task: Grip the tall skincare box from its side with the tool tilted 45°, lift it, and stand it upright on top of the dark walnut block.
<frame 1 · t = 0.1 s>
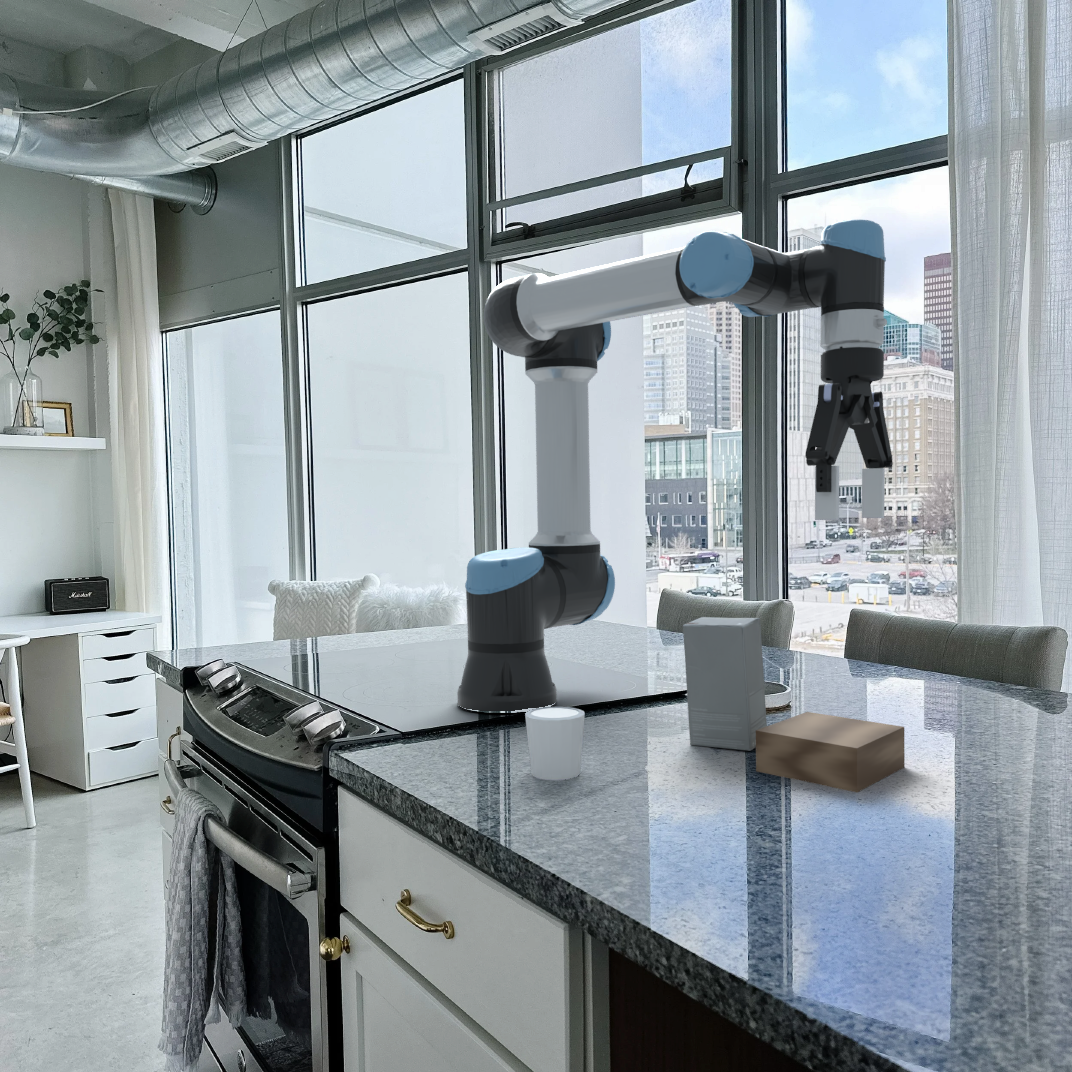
hand: (850, 519, 120), 28 cm above the worktop, tool pointing down, fingers open, 13 cm apart
walnut block: (830, 772, 108), on the worktop
skincare box: (725, 745, 120), on the worktop
white tapered cup: (556, 774, 109), on the worktop
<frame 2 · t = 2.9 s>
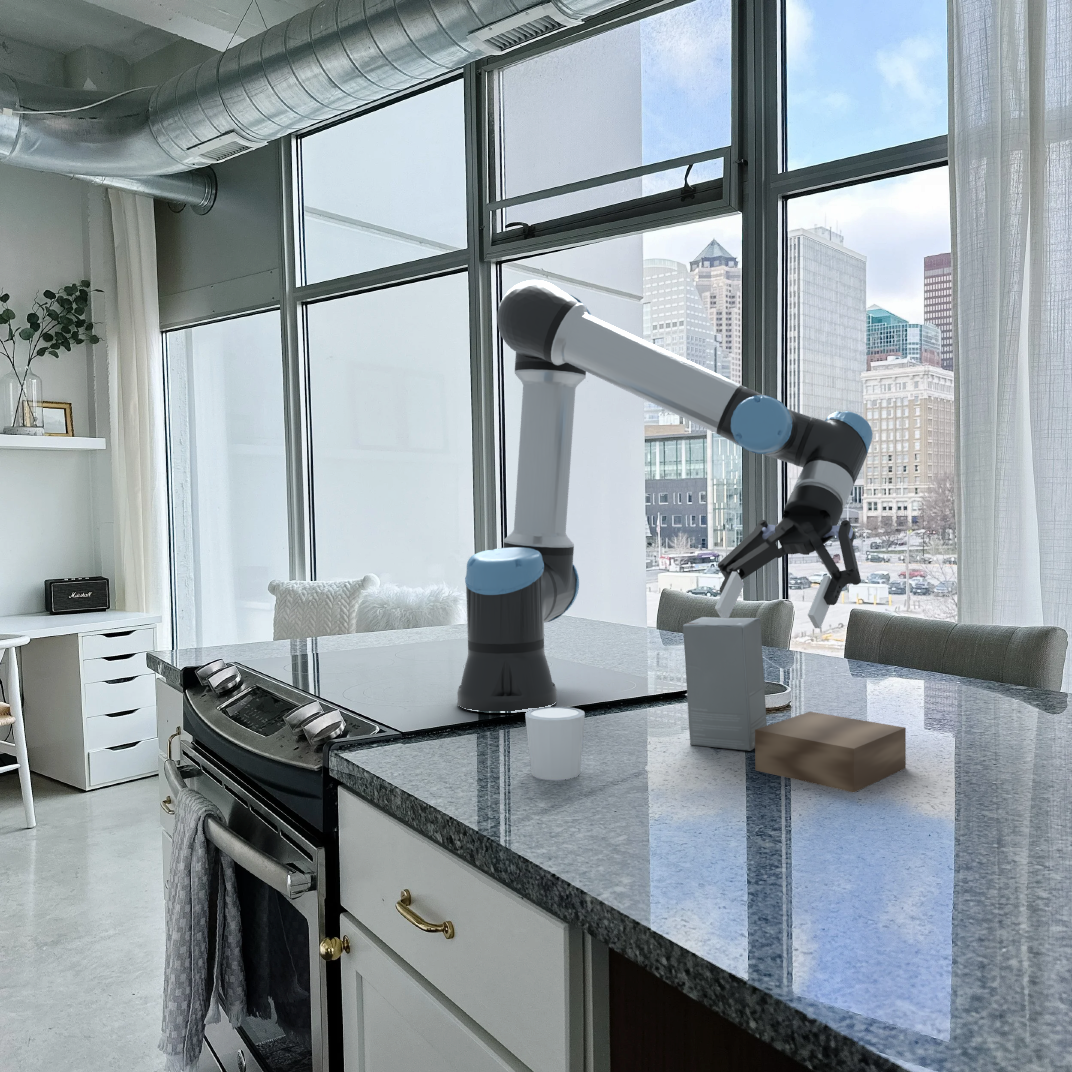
hand: (765, 618, 125), 15 cm above the worktop, tool tilted 45°, fingers open, 13 cm apart
nothing on the worktop moved.
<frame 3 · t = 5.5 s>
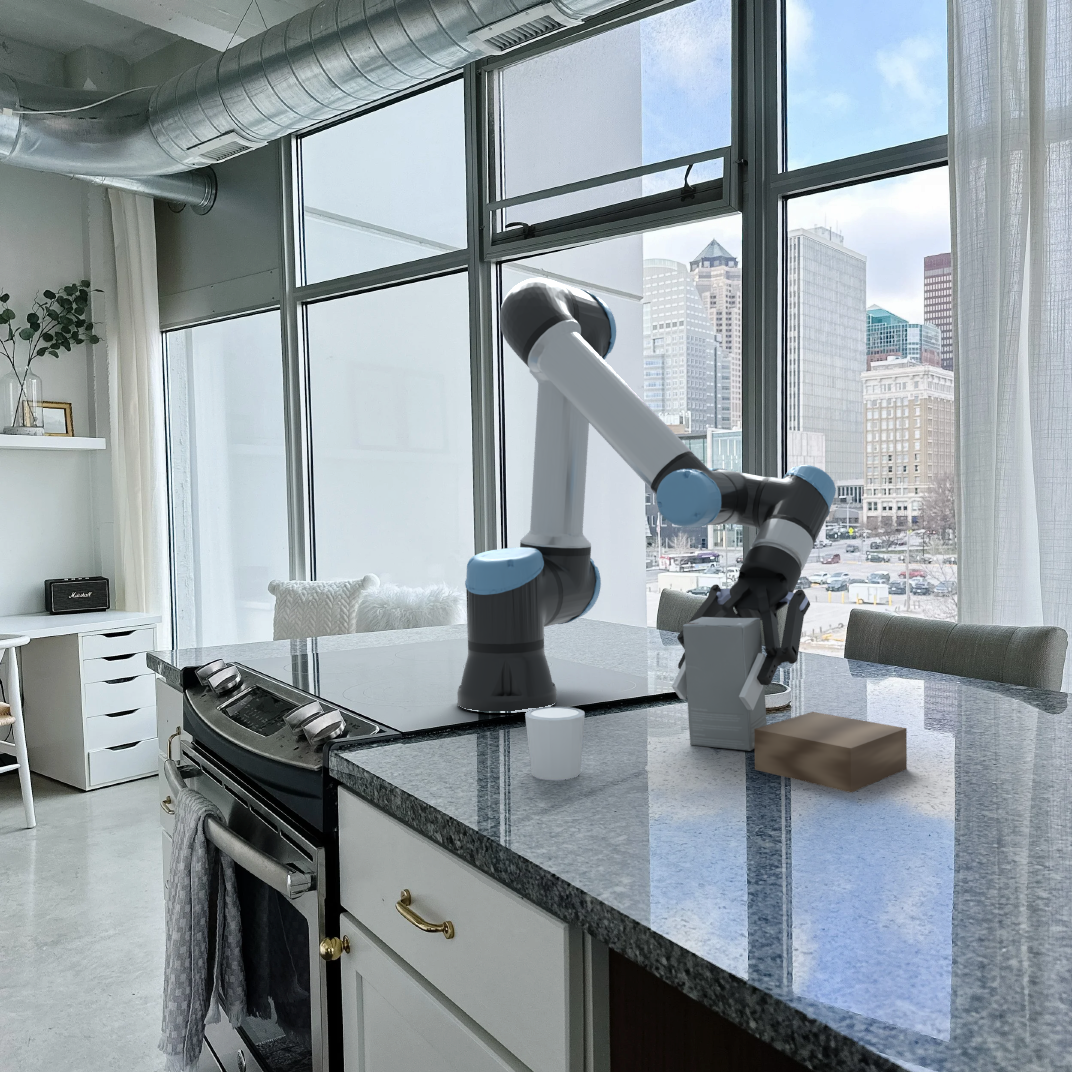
hand: (711, 698, 117), 6 cm above the worktop, tool tilted 45°, fingers closed on skincare box, 9 cm apart
skincare box: (725, 745, 120), on the worktop, touching gripper
everything else where it was.
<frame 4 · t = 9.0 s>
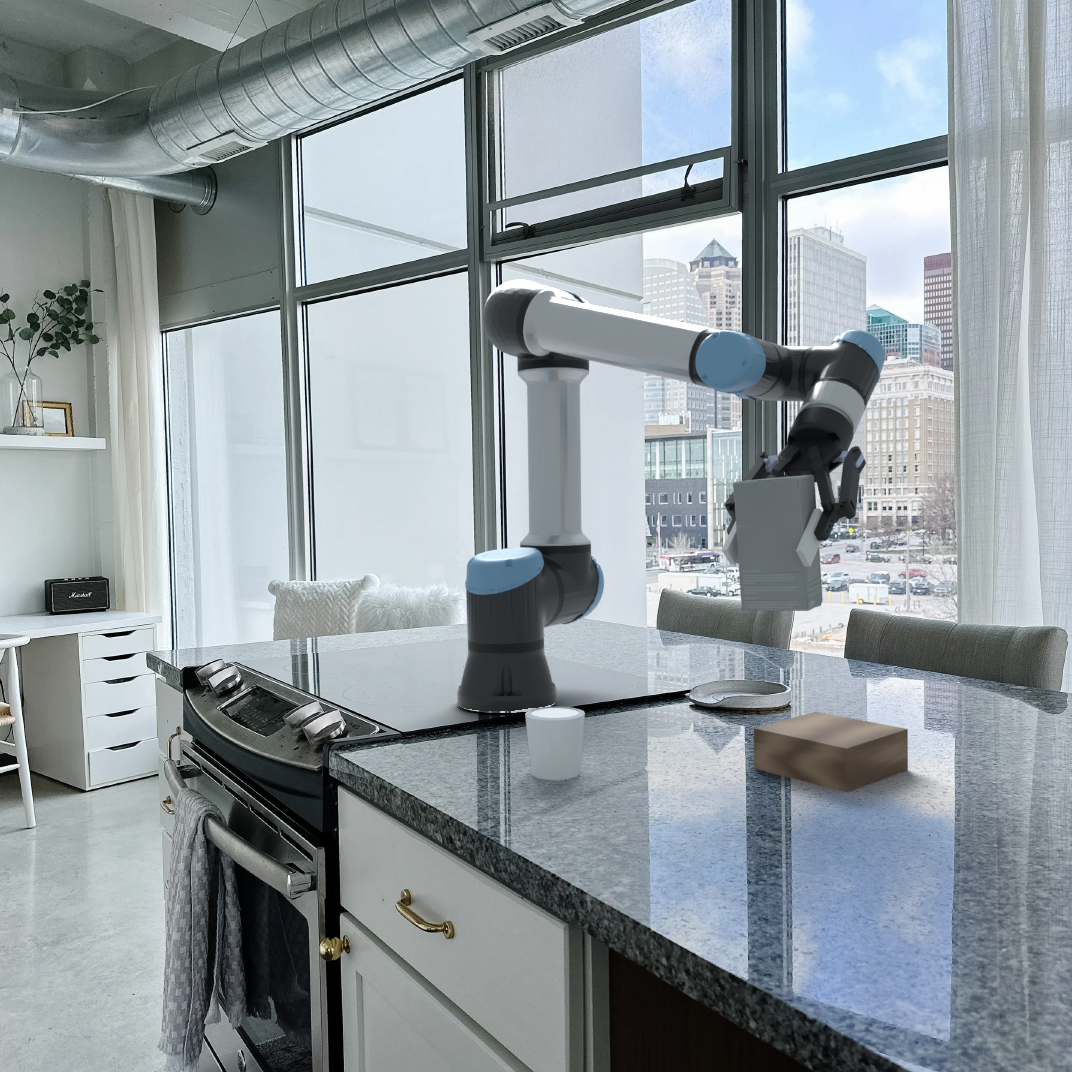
hand: (764, 558, 111), 24 cm above the worktop, tool tilted 45°, fingers closed on skincare box, 9 cm apart
skincare box: (779, 610, 113), point 17 cm above the worktop, touching gripper
everything else where it was.
when the fingers open (13 cm above the worktop, at t = 12.5 s): skincare box drops 2 cm, resting on walnut block.
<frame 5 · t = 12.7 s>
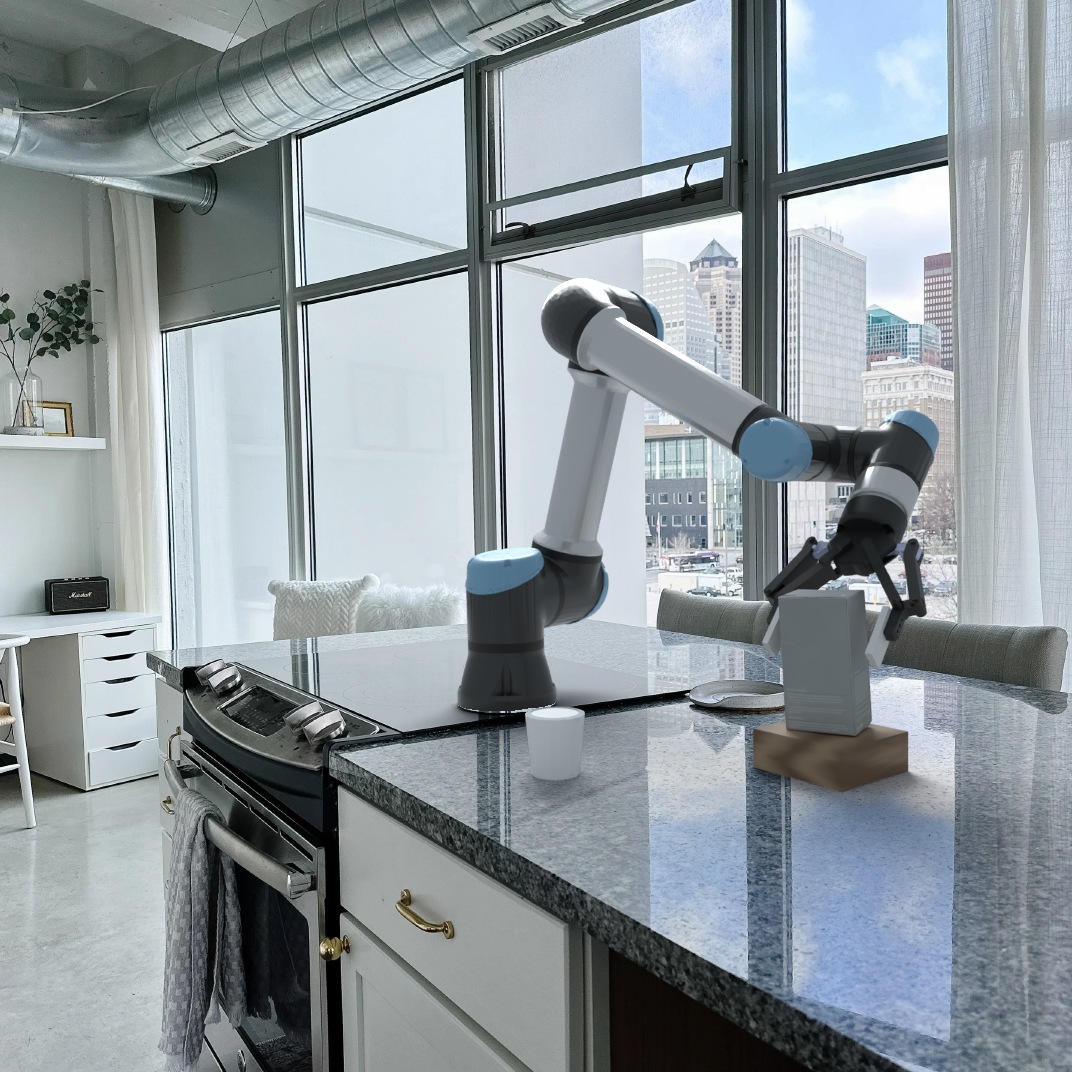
hand: (818, 655, 106), 13 cm above the worktop, tool tilted 45°, fingers open, 11 cm apart
walnut block: (829, 773, 108), on the worktop, touching skincare box
skincare box: (825, 730, 109), point 4 cm above the worktop, touching walnut block
everything else where it was.
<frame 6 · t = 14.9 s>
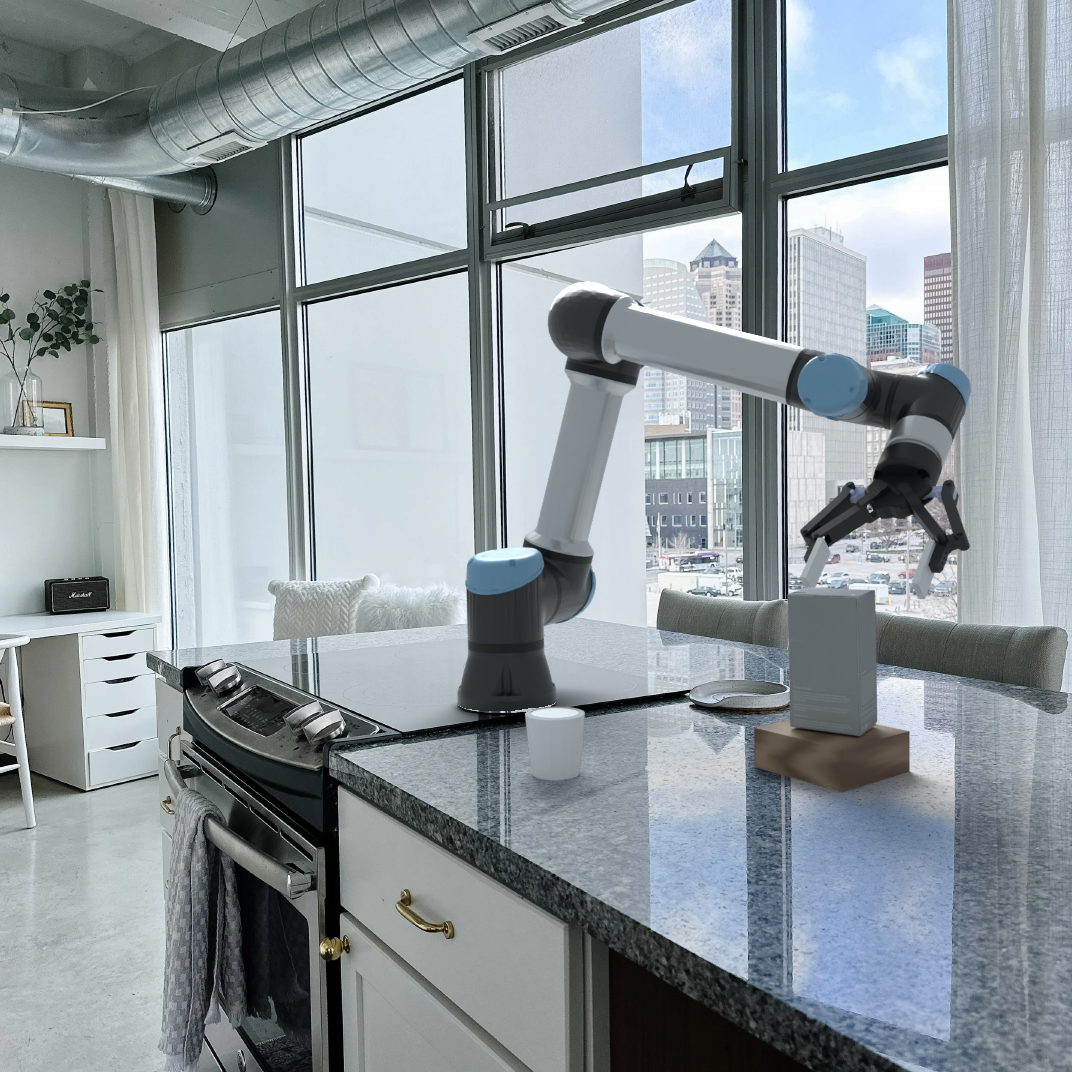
hand: (859, 588, 111), 20 cm above the worktop, tool tilted 45°, fingers open, 13 cm apart
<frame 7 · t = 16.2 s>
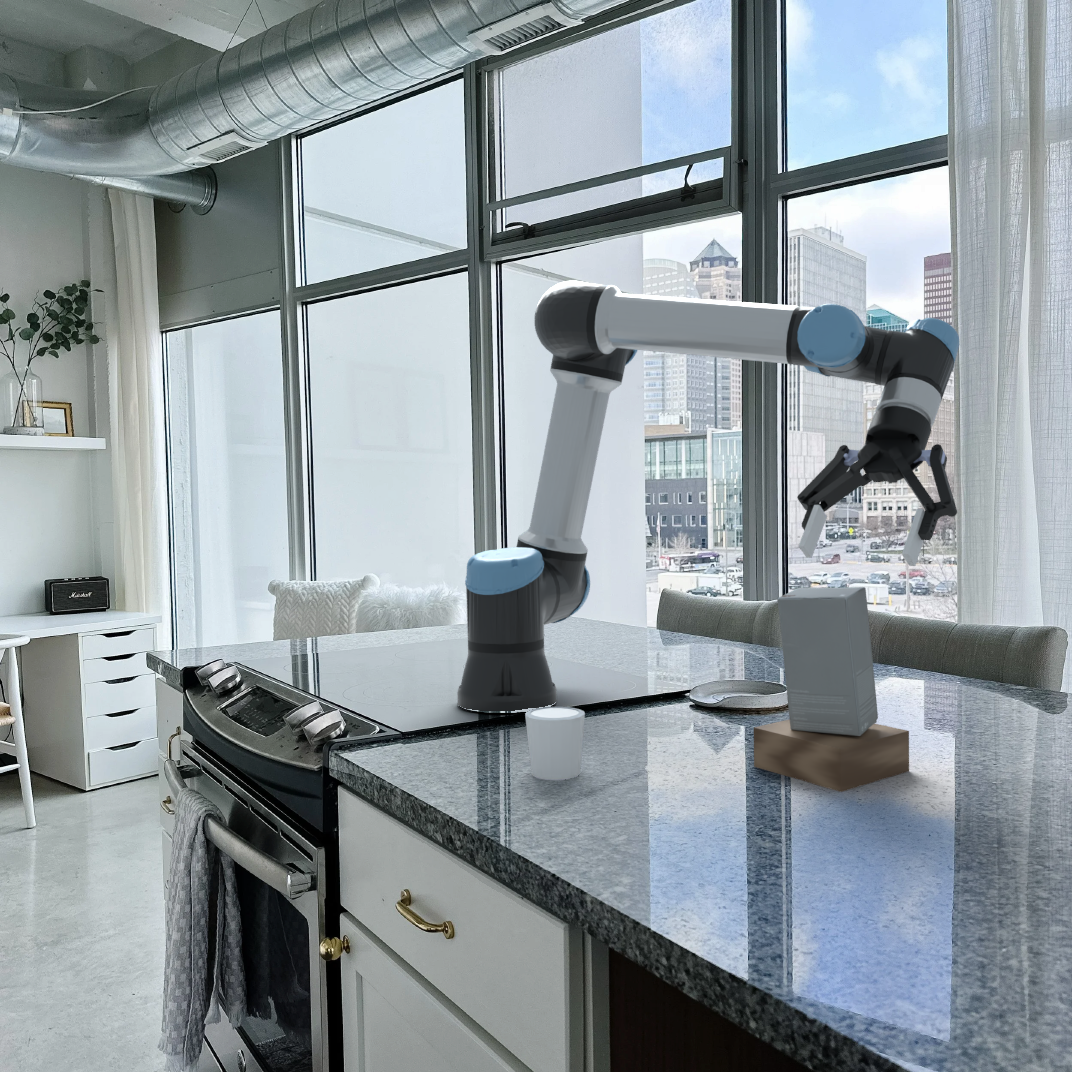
hand: (854, 556, 118), 23 cm above the worktop, tool tilted 35°, fingers open, 13 cm apart
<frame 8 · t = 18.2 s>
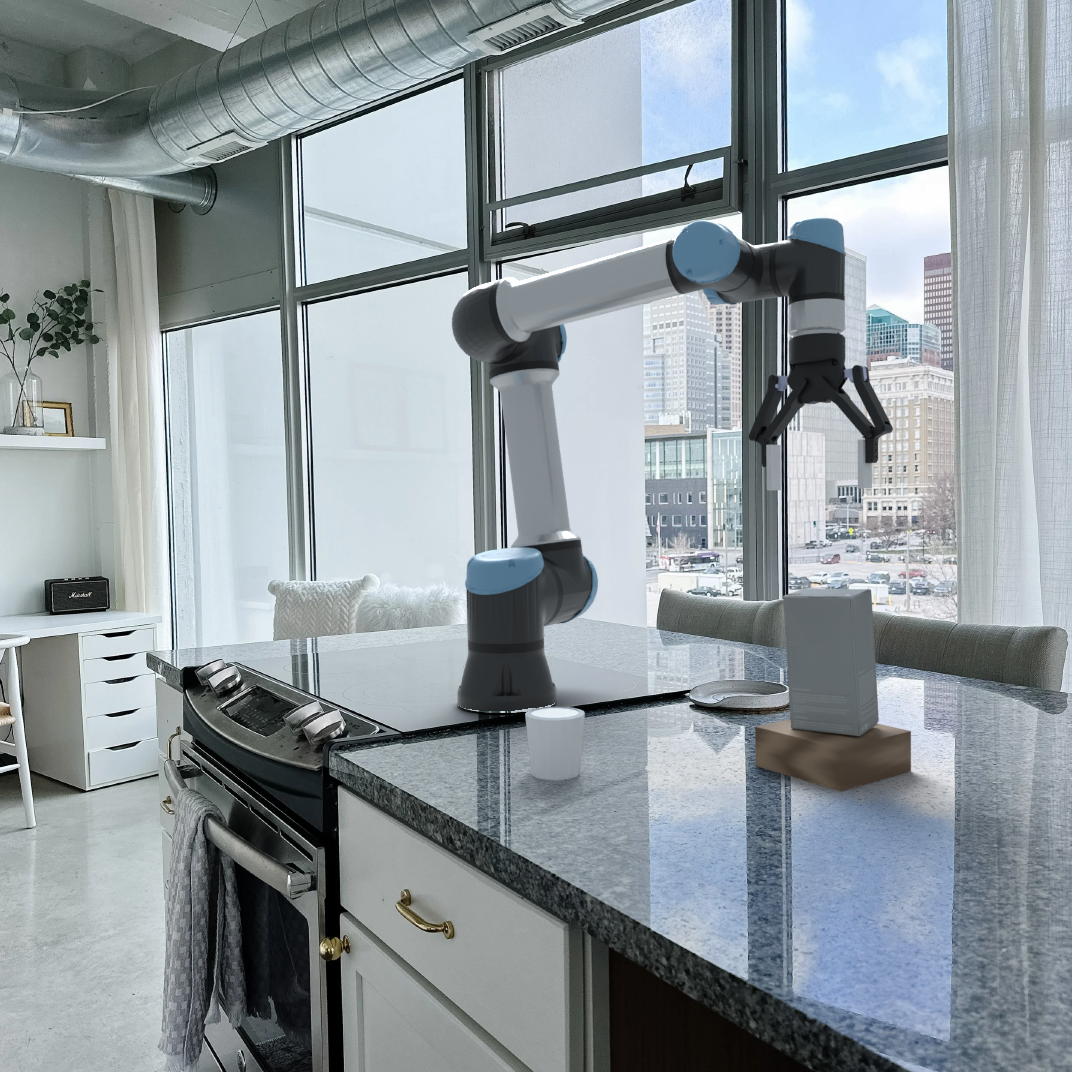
hand: (817, 489, 132), 32 cm above the worktop, tool pointing down, fingers open, 13 cm apart
walnut block: (832, 772, 108), on the worktop
skincare box: (831, 730, 108), point 4 cm above the worktop
everything else where it was.
at the end: skincare box inside the target area on the walnut block (0.1 cm from its centre), point 4.8 cm above the walnut block's base; skincare box tilted 0°; the gripper is holding nothing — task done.
